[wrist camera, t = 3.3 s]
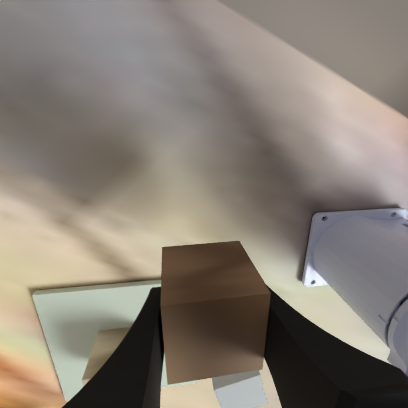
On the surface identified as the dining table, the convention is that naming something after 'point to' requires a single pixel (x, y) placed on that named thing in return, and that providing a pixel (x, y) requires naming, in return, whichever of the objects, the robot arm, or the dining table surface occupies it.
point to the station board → (87, 324)
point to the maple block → (103, 350)
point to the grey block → (240, 390)
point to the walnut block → (212, 311)
